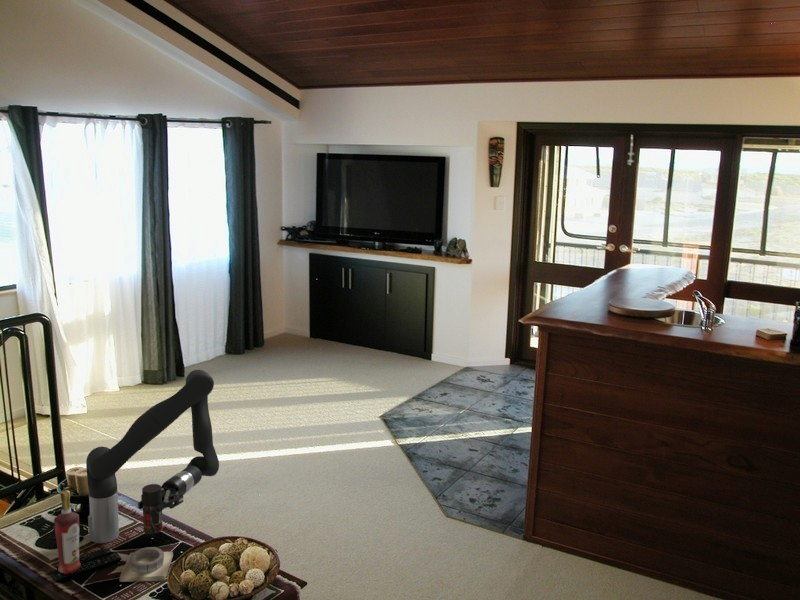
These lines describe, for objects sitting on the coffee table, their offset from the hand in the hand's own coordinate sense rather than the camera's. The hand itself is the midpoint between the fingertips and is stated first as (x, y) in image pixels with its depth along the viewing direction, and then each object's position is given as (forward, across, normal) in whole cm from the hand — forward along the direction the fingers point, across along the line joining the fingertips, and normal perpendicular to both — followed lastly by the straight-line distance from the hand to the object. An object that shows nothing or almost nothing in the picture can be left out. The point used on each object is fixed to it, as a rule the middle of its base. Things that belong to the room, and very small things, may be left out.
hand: (147, 508), depth 227 cm
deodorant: (-2, 0, +9) cm, 10 cm away
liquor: (+11, -23, +22) cm, 33 cm away
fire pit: (+1, 0, +22) cm, 22 cm away
